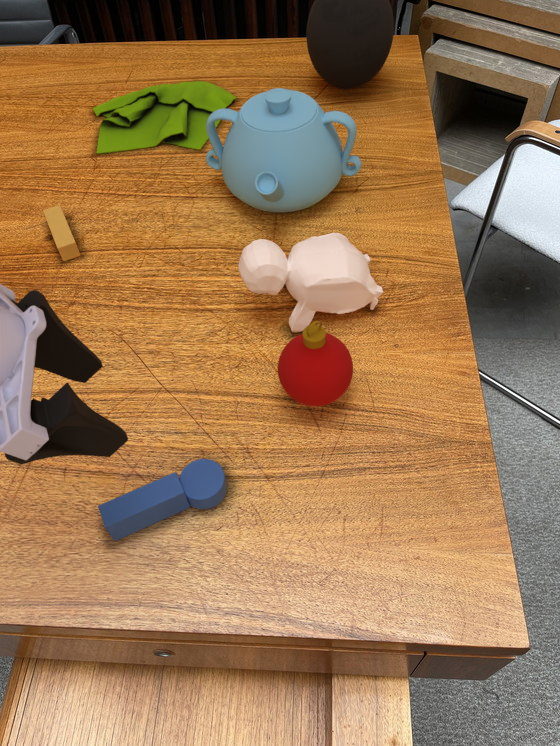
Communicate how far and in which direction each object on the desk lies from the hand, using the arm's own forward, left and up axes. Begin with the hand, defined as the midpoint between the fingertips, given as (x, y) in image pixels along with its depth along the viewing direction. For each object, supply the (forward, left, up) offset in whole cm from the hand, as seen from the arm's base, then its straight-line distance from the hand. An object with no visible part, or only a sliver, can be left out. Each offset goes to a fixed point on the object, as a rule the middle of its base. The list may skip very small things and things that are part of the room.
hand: (104, 406), depth 46 cm
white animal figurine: (+23, +14, -14) cm, 31 cm away
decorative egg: (+49, +51, -14) cm, 72 cm away
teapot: (+28, +32, -14) cm, 45 cm away
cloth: (+20, +58, -14) cm, 63 cm away
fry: (+1, +38, -14) cm, 40 cm away
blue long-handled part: (+1, -2, -14) cm, 14 cm away
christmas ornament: (+18, +3, -14) cm, 23 cm away
